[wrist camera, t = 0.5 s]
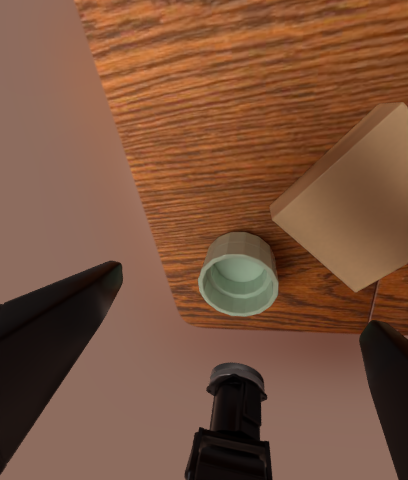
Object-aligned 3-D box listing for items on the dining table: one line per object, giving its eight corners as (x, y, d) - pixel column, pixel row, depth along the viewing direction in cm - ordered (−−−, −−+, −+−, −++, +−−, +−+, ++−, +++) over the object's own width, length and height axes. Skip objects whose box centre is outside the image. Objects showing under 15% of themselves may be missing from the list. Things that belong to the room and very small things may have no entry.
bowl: (241, 294, 26) (239, 326, 22) (194, 258, 25) (183, 285, 21) (289, 259, 23) (296, 289, 19) (237, 215, 22) (234, 238, 18)
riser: (343, 272, 22) (355, 293, 20) (269, 205, 21) (271, 219, 18) (462, 197, 17) (499, 212, 15) (378, 103, 16) (403, 101, 13)
